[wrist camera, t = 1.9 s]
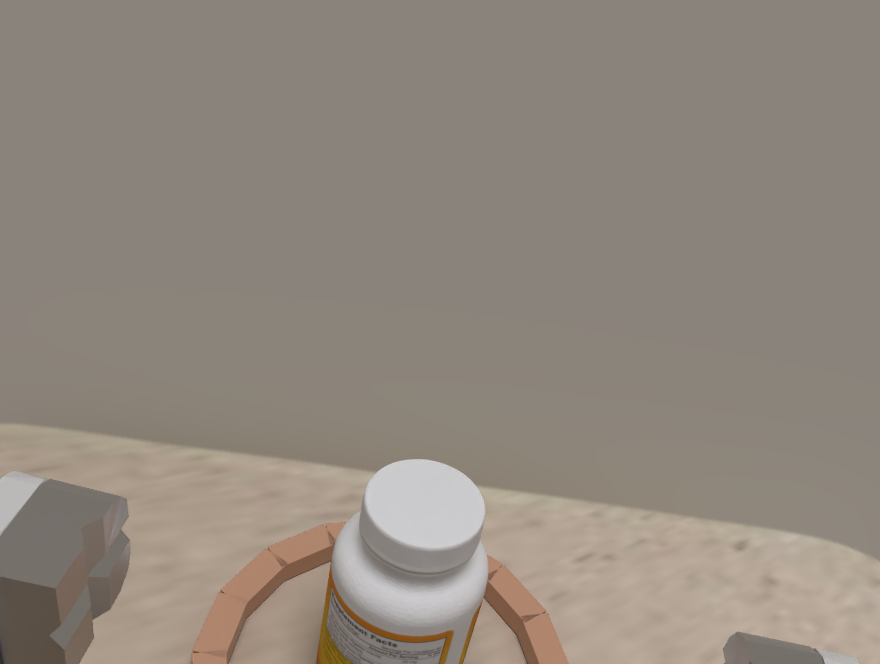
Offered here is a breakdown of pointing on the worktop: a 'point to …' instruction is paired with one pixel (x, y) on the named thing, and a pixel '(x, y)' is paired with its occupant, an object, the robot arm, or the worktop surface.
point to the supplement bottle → (407, 570)
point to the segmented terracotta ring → (318, 549)
